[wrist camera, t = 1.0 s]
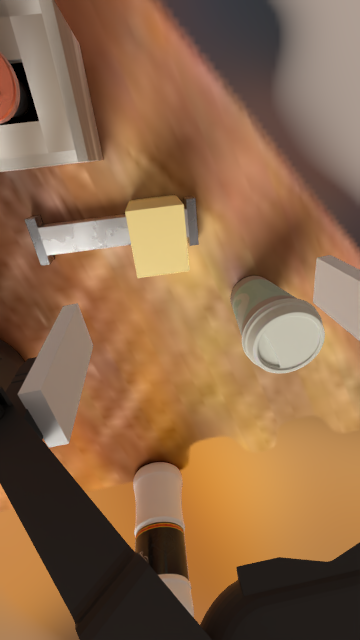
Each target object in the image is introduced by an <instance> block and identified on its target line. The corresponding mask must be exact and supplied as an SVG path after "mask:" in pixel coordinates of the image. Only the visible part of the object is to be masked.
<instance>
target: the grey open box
mask: <svg viewBox="0 0 360 640" xmlns="http://www.w3.org/2000/svg"><path fill="white" fill-rule="evenodd" d="M0 52H1V53H2V54H3V55H4V56H5V57H6V59H7V60H8V61H9V63H10V64H13V63H23V66H24V70H25V73H26V77H27V80H28V84H29V87H30V91H31V94H32V98H33V101H34V105H35V108H36V112H37V115H38V119H39V121H34V122H25V123H17V124H8V121H6V122H4V123H2V124H0V172H5V171H16V170H24V169H32V168H41V167H49V166H58V165H66V164H74V163H83V162H91V161H100V160H103V156H102V151H101V146H100V141H99V136H98V132H97V127H96V122H95V117H94V112H93V107H92V103H91V98H90V93H89V88H88V83H87V78H86V73H85V69H84V64H83V59H82V54H81V49H80V44H79V42H78V41H77V39H76V37H75V36H74V34H73V32H72V30H71V29H70V27H69V25H68V23H67V22H66V20H65V18H64V17H63V15H62V13H61V11H60V10H59V8H58V6H57V4H56V3H55V1H54V0H0Z"/></svg>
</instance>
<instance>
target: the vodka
mask: <svg viewBox="0 0 360 640" xmlns="http://www.w3.org/2000/svg"><path fill="white" fill-rule="evenodd" d="M133 486H134V492H135V499H136V527H135V531H134V534H135V537H136V538H135V540H136V541H135V552H137V553H139V554H140V555H141V556H142V557H143V558H144V559H145V561H146V562H147V563H148V564H149V565H150V566H151V567H152V569H153V570H154V571H155V572H156V573H157V575H158V576H159V577H160V578H161V579H162V581H163V582H164V583H165V584H166V585H167V587H168V588H169V589H170V590H171V591H172V593H173V594H174V595H175V596H176V597H177V599H178V600H179V601H180V602H181V603H182V605H183V606H184V607H185V608H186V609H187V611H188V612H189V613H190V614H191V615H192V617H194V609H193V602H192V597H191V584H190V582H189V576H188V566H187V557H186V547H185V537H184V530H185V525H184V523H183V516H182V502H181V488H182V475H181V473H180V471H179V469H178V468H177V467H176V466H174V465H172V464H170V463H165V462H154V463H150V464H148V465H145V466H143V467H142V468H140V469H139V470H138V471H137V473H136V475H135V477H134V485H133Z"/></svg>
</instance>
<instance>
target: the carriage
mask: <svg viewBox="0 0 360 640" xmlns="http://www.w3.org/2000/svg"><path fill="white" fill-rule="evenodd" d="M125 214H126V220H127V225H128V230H129V236H130V241H131V246H132V251H133V257H134V262H135V267H136V273H137V278H142V277H149V276H157V275H164V274H172V273H179V272H186V271H190V269H189V258H188V247H187V236H186V225H185V214H184V204H183V203H182V202H181V201H180V199H179V198H178V197H177V196H176V195H168V196H160V197H152V198H144V199H136V200H130V201H129V203H128V205H127V208H126V210H125Z"/></svg>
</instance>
